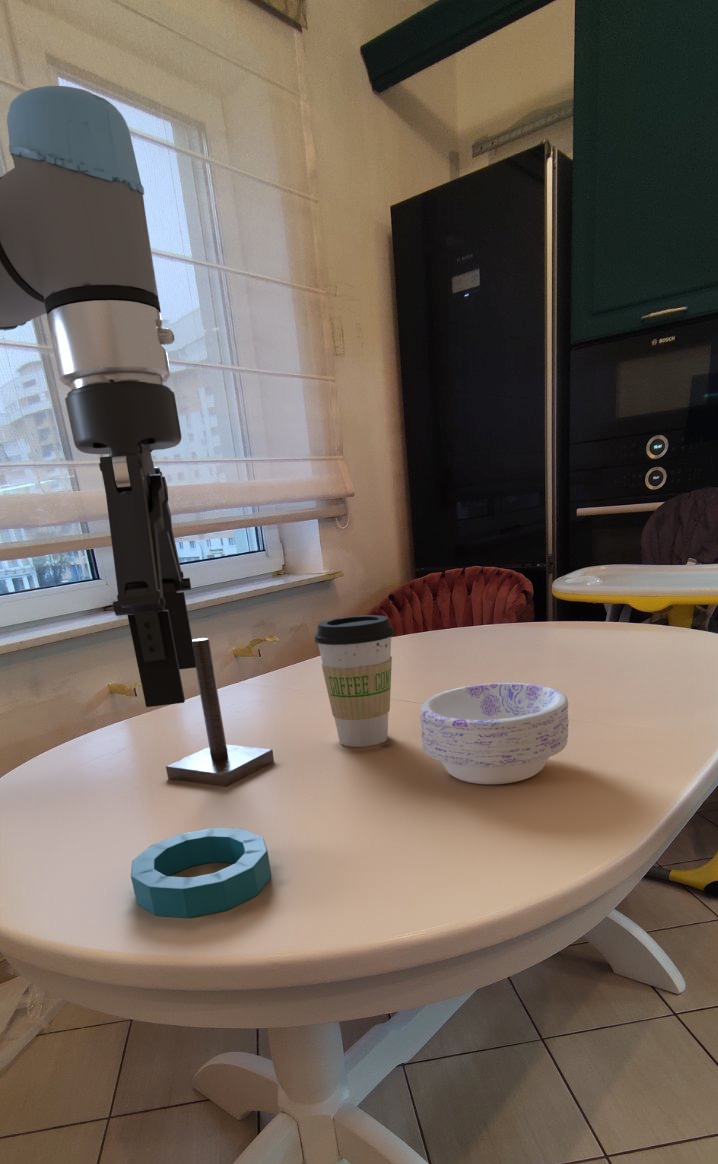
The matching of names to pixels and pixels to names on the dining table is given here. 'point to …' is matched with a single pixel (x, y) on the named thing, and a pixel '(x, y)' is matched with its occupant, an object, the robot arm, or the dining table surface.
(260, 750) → the peg stand
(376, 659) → the coffee cup
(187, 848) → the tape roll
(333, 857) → the dining table surface
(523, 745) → the paper bowls
